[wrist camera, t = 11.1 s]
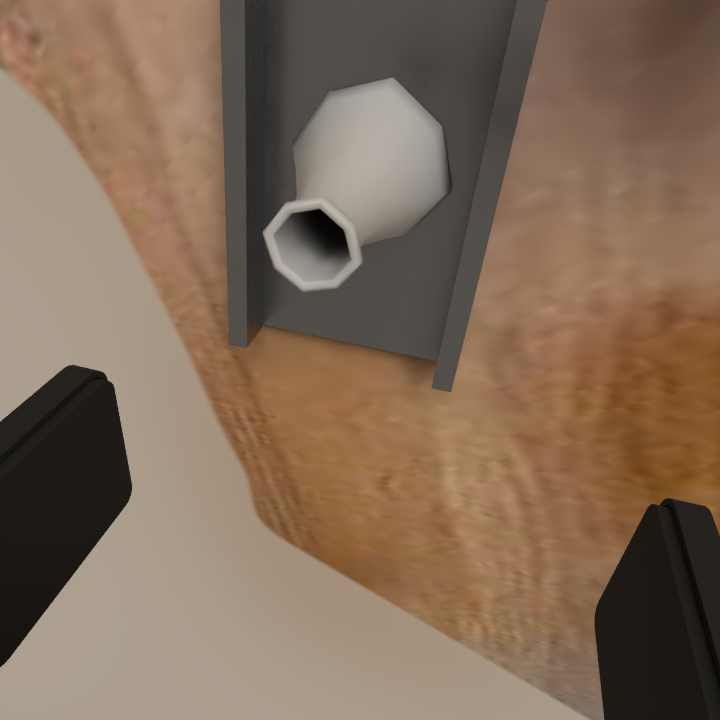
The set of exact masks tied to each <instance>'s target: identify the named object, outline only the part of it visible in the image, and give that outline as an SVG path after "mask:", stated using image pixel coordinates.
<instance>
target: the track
mask: <svg viewBox="0 0 720 720" xmlns="http://www.w3.org/2000/svg"><path fill="white" fill-rule="evenodd" d="M546 2H547V0H220V17H221V54H222V91H223V128H224V165H225V201H226V238H227V275H228V312H229V344H231V345H235V346H240V347H245V348H247V347H248V346H249V345H250V343H251V342H252V340H253V339H254V338H255V336H256V335H257V333H258V332H259V330H260V329H261V328H262V326H263V325H266V326H271V327H276V328H280V329H285V330H290V331H295V332H299V333H304V334H309V335H313V336H318V337H323V338H328V339H332V340H337V341H342V342H347V343H351V344H356V345H361V346H366V347H370V348H375V349H380V350H385V351H389V352H394V353H399V354H404V355H408V356H413V357H418V358H423V359H427V360H432V361H437V364H436V369H435V374H434V379H433V384H432V388H434V389H439V390H443V391H448V392H451V390H452V386H453V382H454V378H455V374H456V369H457V365H458V361H459V357H460V353H461V349H462V345H463V341H464V337H465V333H466V329H467V325H468V320H469V316H470V312H471V308H472V304H473V300H474V296H475V292H476V288H477V284H478V280H479V276H480V271H481V267H482V263H483V259H484V255H485V251H486V247H487V243H488V239H489V235H490V231H491V227H492V223H493V218H494V214H495V210H496V206H497V202H498V198H499V194H500V190H501V186H502V182H503V178H504V174H505V169H506V165H507V161H508V157H509V153H510V149H511V145H512V141H513V137H514V133H515V129H516V125H517V121H518V116H519V112H520V108H521V104H522V100H523V96H524V92H525V88H526V84H527V80H528V76H529V72H530V67H531V63H532V59H533V55H534V51H535V47H536V43H537V39H538V35H539V31H540V27H541V23H542V18H543V14H544V10H545V6H546ZM388 78H394V79H395V80H396V81H397V82H398V83H399V84H400V85H401V86H402V87H403V88H404V89H405V90H406V91H407V92H408V93H409V94H410V95H411V96H412V97H413V98H414V99H415V100H416V101H417V102H418V103H419V104H420V105H421V106H422V107H423V108H424V109H425V110H426V111H427V112H428V113H429V114H430V115H431V116H432V117H433V118H434V119H435V120H436V121H437V122H439V123H440V124H441V125H442V129H443V135H444V142H445V149H446V156H447V163H448V170H449V177H450V183H451V190H452V191H451V192H450V193H449V194H448V195H447V196H446V197H445V198H444V199H443V200H442V201H441V202H440V204H439V205H438V206H437V207H436V208H435V209H434V210H433V211H432V212H431V213H430V214H429V215H428V216H427V217H426V218H425V219H424V220H423V221H422V222H421V223H420V224H419V225H418V226H417V227H416V228H415V229H414V230H413V231H412V232H411V233H410V234H407V235H403V236H398V237H393V238H387V239H383V240H380V241H376V242H373V243H369V244H366V245H363V246H361V247H360V248H361V252H362V256H363V262H362V264H361V265H360V266H359V267H358V268H357V269H356V270H355V271H354V272H353V273H352V274H351V275H350V276H349V277H348V278H347V279H346V280H345V281H344V282H343V283H342V284H341V285H340V286H339V287H338V288H337V289H329V290H320V291H311V292H301V291H300V290H299V289H298V288H297V287H296V286H294V285H293V284H292V283H291V282H290V281H288V280H287V279H286V278H285V277H284V276H283V275H281V274H280V273H279V272H278V271H277V270H275V269H274V267H273V264H272V261H271V258H270V255H269V252H268V249H267V245H266V242H265V239H264V236H263V233H262V232H263V231H264V230H265V228H266V227H267V226H268V225H269V223H270V222H271V221H272V220H273V218H274V217H275V216H276V215H277V213H278V212H279V211H280V210H281V208H282V207H283V206H284V205H285V203H287V202H291V201H295V199H296V196H297V187H296V168H295V162H294V155H293V146H292V141H293V140H294V139H295V137H296V136H297V135H298V133H299V132H300V131H301V129H302V128H303V127H304V125H305V124H306V123H307V121H308V120H309V118H310V117H311V116H312V114H313V113H314V112H315V110H316V109H317V108H318V106H319V105H320V104H321V102H322V101H323V100H324V98H325V97H326V96H327V94H328V93H329V92H330V91H335V90H339V89H344V88H348V87H353V86H357V85H362V84H366V83H371V82H375V81H379V80H384V79H388Z"/></svg>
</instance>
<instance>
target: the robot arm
mask: <svg viewBox="0 0 720 720" xmlns="http://www.w3.org/2000/svg"><path fill="white" fill-rule="evenodd" d="M131 492H132V482H131V477H130V471H129V466H128V460H127V455H126V449H125V444H124V438H123V433H122V427H121V422H120V416H119V411H118V406H117V400H116V395H115V389H114V386H113V384H112V383H111V382H109V381H108V380H107V377H106V375H105V374H104V373H103V372H101V371H97V370H93V369H88V368H84V367H79V366H75V365H71V366H67V367H65V368H64V369H63V370H62V371H60V372H59V373H58V374H57V375H55V376H54V377H53V378H52V379H51V380H49V381H48V382H47V383H46V384H45V385H43V386H42V387H41V388H40V389H39V390H38V391H36V392H35V393H34V394H33V395H32V396H30V397H29V398H28V399H27V400H26V401H24V402H23V403H22V404H21V405H20V406H18V407H17V408H16V409H15V410H14V411H12V412H11V413H10V414H9V415H8V416H7V417H5V418H4V419H3V420H2V421H1V422H0V667H1V666H2V665H3V664H5V662H6V661H7V660H8V659H9V658H10V657H11V655H12V654H13V653H14V651H15V650H16V649H17V647H18V646H19V645H20V644H21V642H22V641H23V640H24V638H25V637H26V636H27V634H28V633H29V632H30V630H31V629H32V628H33V627H34V625H35V624H36V623H37V621H38V620H39V619H40V617H41V616H42V614H43V613H44V612H45V611H46V609H47V608H48V607H49V606H50V604H51V603H52V602H53V600H54V599H55V598H56V596H57V595H58V594H59V592H60V591H61V590H62V589H63V587H64V586H65V585H66V583H67V582H68V581H69V579H70V578H71V577H72V575H73V574H74V573H75V571H76V570H77V569H78V568H79V566H80V565H81V564H82V562H83V561H84V560H85V558H86V557H87V556H88V554H89V553H90V552H91V550H92V549H93V548H94V547H95V545H96V544H97V542H98V541H99V540H100V539H101V537H102V536H103V535H104V533H105V532H106V531H107V529H108V528H109V527H110V525H111V524H112V523H113V522H114V520H115V519H116V518H117V516H118V515H119V513H120V512H121V511H122V510H123V508H124V507H125V506H126V504H127V503H128V501H129V499H130V496H131ZM595 634H596V643H597V653H598V662H599V672H600V681H601V690H602V700H603V709H604V719H605V720H720V536H719V534H718V531H717V528H716V525H715V522H714V519H713V516H712V514H711V512H710V510H709V509H708V508H707V507H706V506H701V505H697V504H692V503H688V502H683V501H679V500H675V499H670V498H666V499H665V500H663V501H662V503H661V504H660V506H659V505H655V504H651V505H650V506H649V507H648V509H647V510H646V512H645V514H644V516H643V518H642V520H641V522H640V524H639V525H638V527H637V529H636V531H635V533H634V535H633V537H632V539H631V541H630V543H629V545H628V546H627V548H626V550H625V552H624V554H623V556H622V558H621V560H620V562H619V564H618V566H617V568H616V569H615V571H614V573H613V575H612V577H611V579H610V581H609V583H608V585H607V587H606V589H605V590H604V592H603V594H602V596H601V598H600V600H599V602H598V604H597V608H596V612H595Z"/></svg>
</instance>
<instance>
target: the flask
mask: <svg viewBox="0 0 720 720" xmlns="http://www.w3.org/2000/svg"><path fill="white" fill-rule="evenodd" d="M292 146H293V155H294V162H295V168H296V187H297V196H296V199H295V201H291V202H287V203H285V205H284V206H283V207H282V208H281V210H280V211H279V212H278V213H277V215H276V216H275V217H274V218H273V220H272V221H271V222H270V223H269V225H268V226H267V227H266V228H265V230H264V231H263V232H262V233H263V236H264V239H265V242H266V245H267V249H268V252H269V255H270V258H271V261H272V264H273V267H274V269H275V270H277V271H278V272H279V273H280V274H281V275H283V276H284V277H285V278H286V279H287V280H288V281H290V282H291V283H292V284H293V285H294V286H296V287H297V288H298V289H299V290H300V291H301V292H311V291H320V290H329V289H337V288H338V287H339V286H340V285H341V284H342V283H343V282H344V281H345V280H346V279H347V278H348V277H349V276H350V275H351V274H352V273H353V272H354V271H355V270H356V269H357V268H358V267H359V266H360V265H361V264H362V262H363V256H362V252H361V248H360V247H361V246H363V245H366V244H369V243H373V242H376V241H380V240H383V239H387V238H393V237H398V236H403V235H407V234H410V233H411V232H412V231H413V230H414V229H415V228H416V227H417V226H418V225H419V224H420V223H421V222H422V221H423V220H424V219H425V218H426V217H427V216H428V215H429V214H430V213H431V212H432V211H433V210H434V209H435V208H436V207H437V206H438V205H439V204H440V202H441V201H442V200H443V199H444V198H445V197H446V196H447V195H448V194H449V193H450V192H451V191H452V190H451V183H450V177H449V170H448V163H447V156H446V149H445V142H444V135H443V129H442V125H441V124H440V123H439V122H437V121H436V120H435V119H434V118H433V117H432V116H431V115H430V114H429V113H428V112H427V111H426V110H425V109H424V108H423V107H422V106H421V105H420V104H419V103H418V102H417V101H416V100H415V99H414V98H413V97H412V96H411V95H410V94H409V93H408V92H407V91H406V90H405V89H404V88H403V87H402V86H401V85H400V84H399V83H398V82H397V81H396V80H395V79H394V78H388V79H384V80H379V81H375V82H371V83H366V84H362V85H357V86H353V87H348V88H344V89H339V90H335V91H330V92H329V93H328V94H327V96H326V97H325V98H324V100H323V101H322V102H321V104H320V105H319V106H318V108H317V109H316V110H315V112H314V113H313V114H312V116H311V117H310V118H309V120H308V121H307V123H306V124H305V125H304V127H303V128H302V129H301V131H300V132H299V133H298V135H297V136H296V137H295V139H294V140H293V141H292Z"/></svg>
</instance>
